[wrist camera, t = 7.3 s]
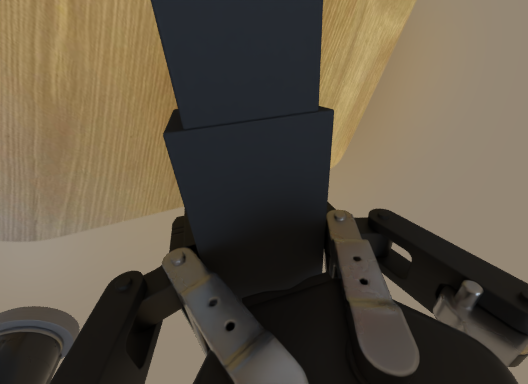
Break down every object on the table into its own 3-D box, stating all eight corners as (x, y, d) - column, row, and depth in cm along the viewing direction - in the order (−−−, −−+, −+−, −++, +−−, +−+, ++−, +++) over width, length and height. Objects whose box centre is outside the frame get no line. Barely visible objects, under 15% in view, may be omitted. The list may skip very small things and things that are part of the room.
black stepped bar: (288, 259, 18) (319, 318, 13) (217, 279, 17) (227, 350, 12) (279, -2, 10) (348, -58, 6) (144, 1, 9) (101, -67, 4)
